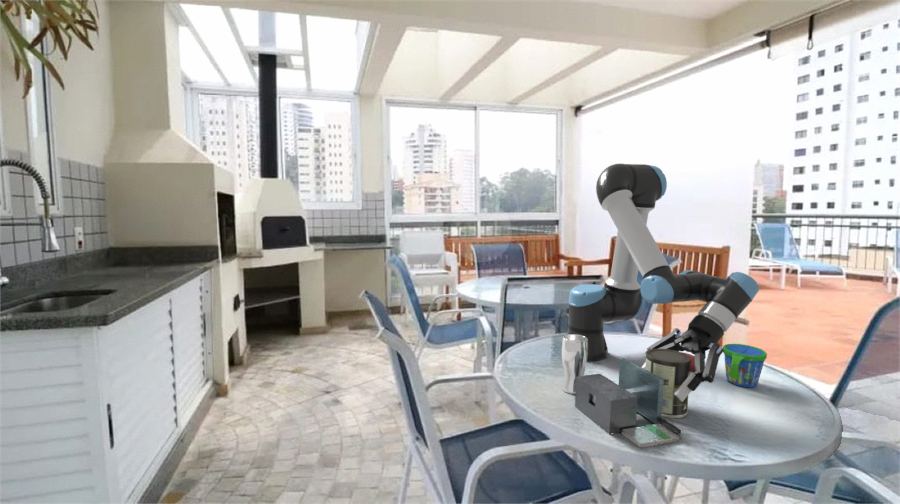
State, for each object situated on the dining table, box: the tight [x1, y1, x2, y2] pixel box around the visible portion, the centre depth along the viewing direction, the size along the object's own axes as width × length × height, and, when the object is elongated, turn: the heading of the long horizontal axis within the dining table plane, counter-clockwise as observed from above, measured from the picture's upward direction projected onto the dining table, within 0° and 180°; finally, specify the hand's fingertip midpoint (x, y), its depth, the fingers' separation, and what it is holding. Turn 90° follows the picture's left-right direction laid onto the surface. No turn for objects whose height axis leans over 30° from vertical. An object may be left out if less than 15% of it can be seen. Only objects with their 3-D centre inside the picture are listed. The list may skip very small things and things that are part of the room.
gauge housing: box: [574, 373, 682, 449], centre depth 104 cm, size 20×14×8 cm, turn 16°
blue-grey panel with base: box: [592, 357, 682, 435], centre depth 104 cm, size 20×13×11 cm, turn 16°
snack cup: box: [722, 343, 768, 388], centre depth 127 cm, size 16×10×10 cm
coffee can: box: [645, 349, 692, 419], centre depth 110 cm, size 10×10×14 cm
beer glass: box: [561, 333, 588, 395], centre depth 121 cm, size 7×7×15 cm
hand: (658, 386), depth 110 cm, fingers open, 12 cm apart
